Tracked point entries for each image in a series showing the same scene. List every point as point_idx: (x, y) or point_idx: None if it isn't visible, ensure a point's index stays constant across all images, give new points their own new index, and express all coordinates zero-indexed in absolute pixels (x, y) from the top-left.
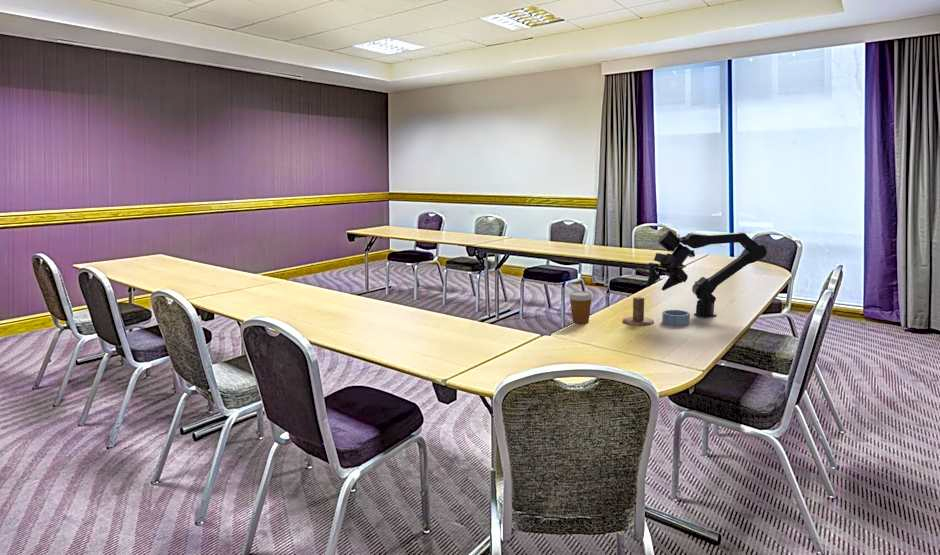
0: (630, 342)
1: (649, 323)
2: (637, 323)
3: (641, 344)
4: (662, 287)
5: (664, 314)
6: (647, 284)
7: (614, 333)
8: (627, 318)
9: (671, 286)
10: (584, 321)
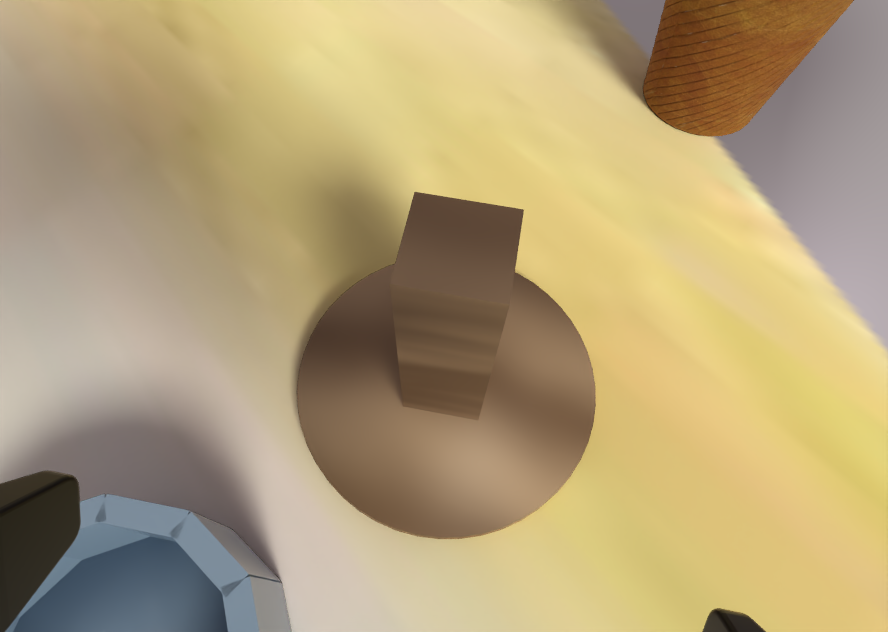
0: (163, 15)
1: (300, 369)
2: (377, 294)
3: (90, 25)
4: (30, 488)
5: (178, 508)
6: (721, 623)
7: (348, 67)
8: (563, 359)
9: None
10: (648, 69)
